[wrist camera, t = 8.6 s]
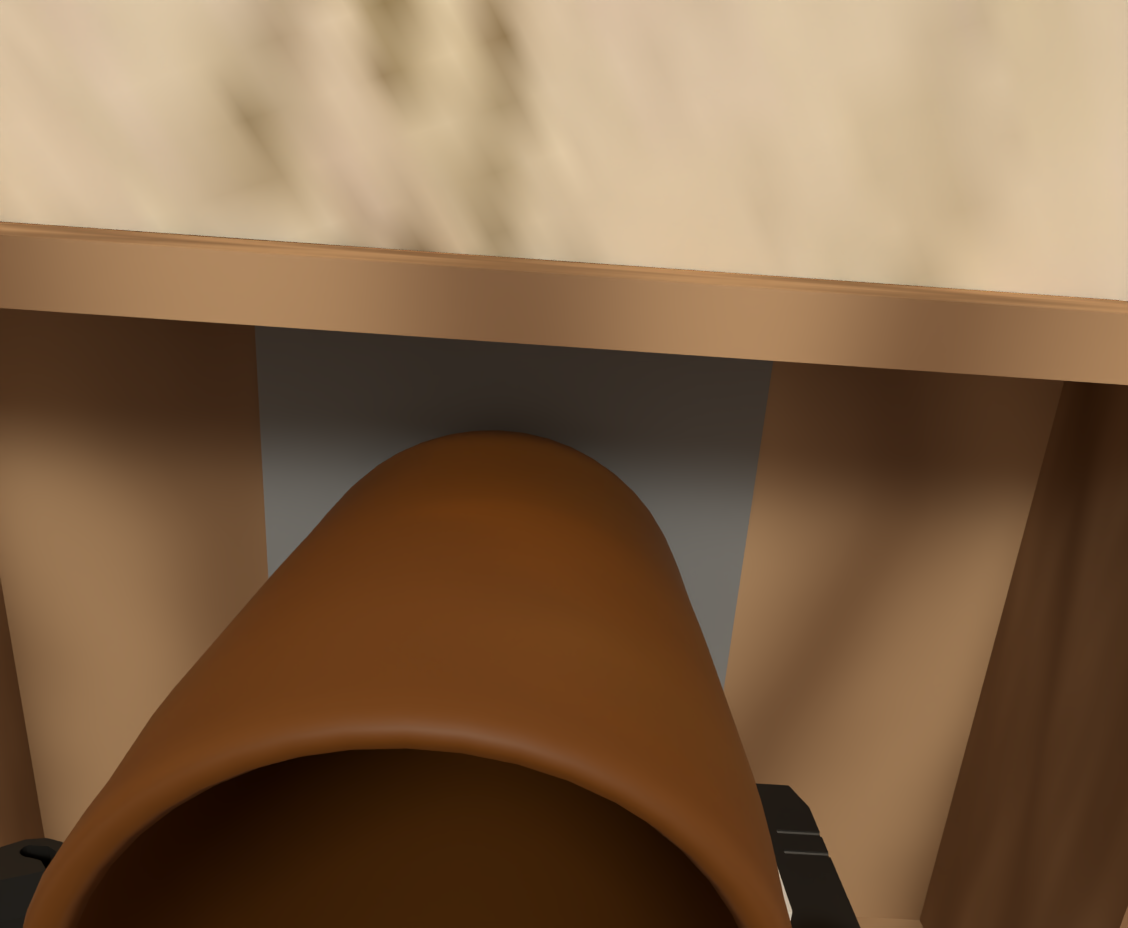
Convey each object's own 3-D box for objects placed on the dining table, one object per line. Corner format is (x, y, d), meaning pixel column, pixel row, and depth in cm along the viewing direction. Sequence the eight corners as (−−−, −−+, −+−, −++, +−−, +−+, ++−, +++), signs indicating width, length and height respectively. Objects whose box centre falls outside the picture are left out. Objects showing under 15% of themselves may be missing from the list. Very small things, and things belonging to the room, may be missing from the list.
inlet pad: (288, 870, 20) (284, 879, 20) (259, 313, 16) (253, 314, 16) (689, 893, 20) (691, 902, 20) (771, 348, 16) (774, 350, 16)
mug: (554, 918, 18) (545, 1574, 9) (250, 844, 18) (-74, 1472, 9) (729, 481, 15) (977, 843, 6) (363, 369, 14) (26, 590, 5)
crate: (33, 880, 21) (-165, 1121, 15) (-86, 215, 16) (-457, 203, 10) (936, 930, 22) (1071, 1182, 16) (1112, 299, 16) (1411, 333, 11)
